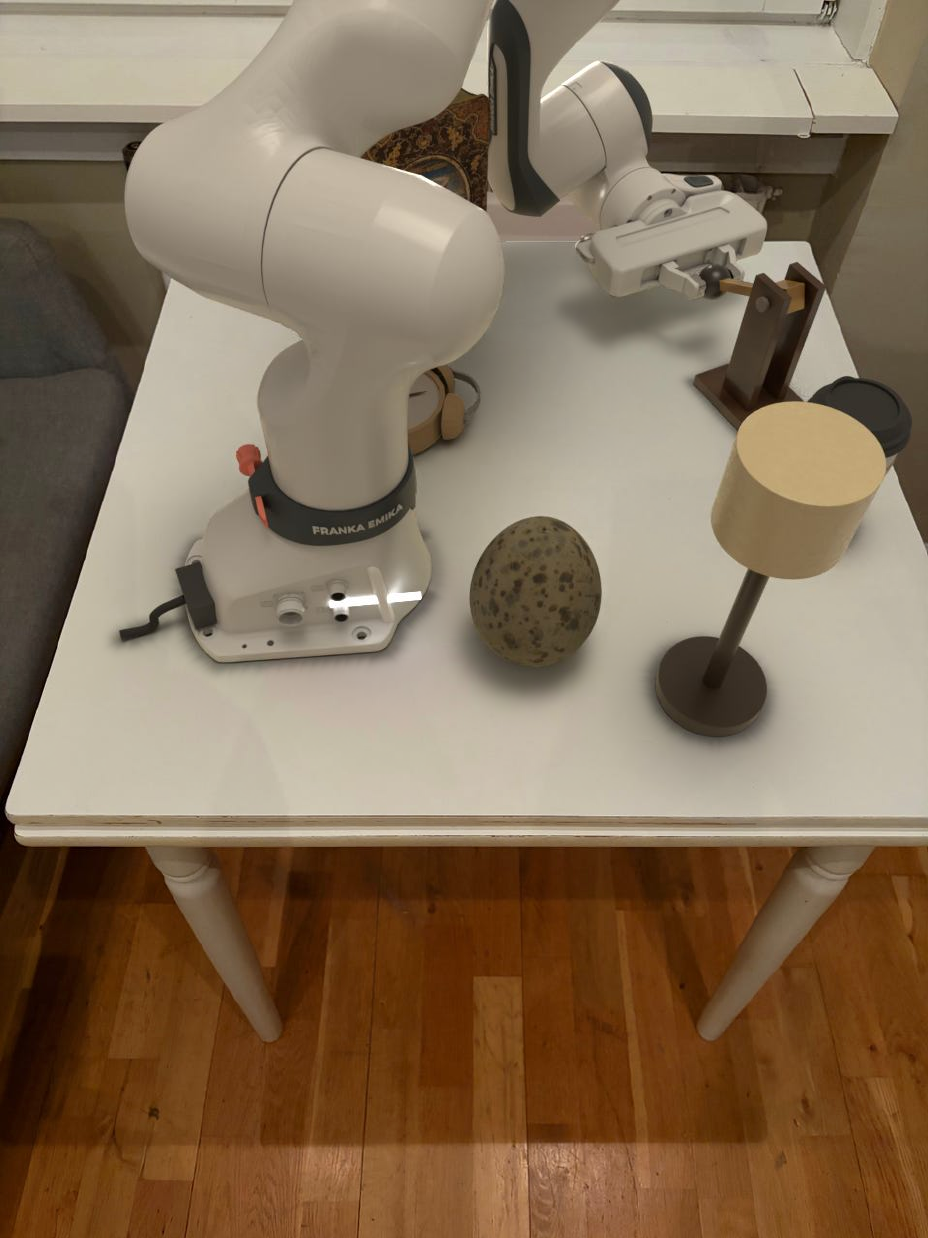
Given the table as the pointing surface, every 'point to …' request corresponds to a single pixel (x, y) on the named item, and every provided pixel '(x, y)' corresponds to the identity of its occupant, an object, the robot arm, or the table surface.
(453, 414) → the alarm clock
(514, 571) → the decorative egg
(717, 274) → the lever
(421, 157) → the book
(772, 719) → the table surface
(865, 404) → the coffee cup
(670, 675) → the lamp
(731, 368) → the switch block
